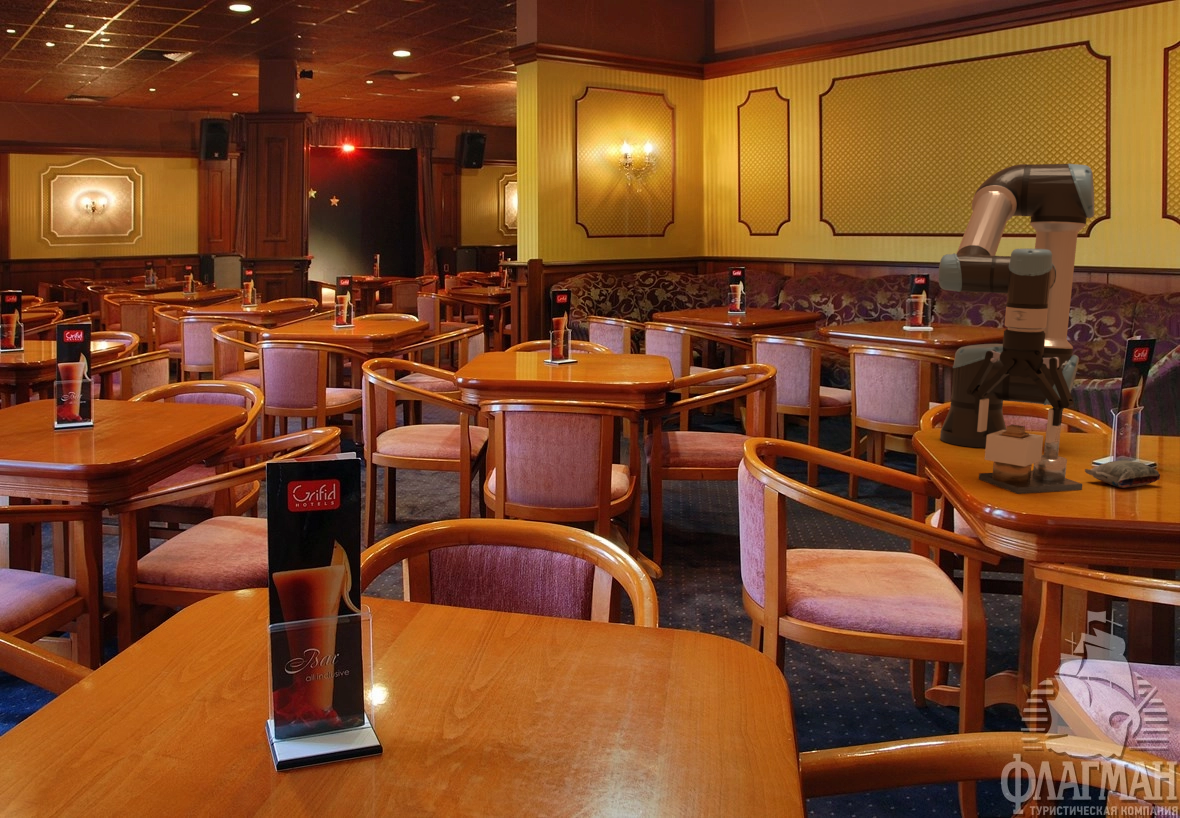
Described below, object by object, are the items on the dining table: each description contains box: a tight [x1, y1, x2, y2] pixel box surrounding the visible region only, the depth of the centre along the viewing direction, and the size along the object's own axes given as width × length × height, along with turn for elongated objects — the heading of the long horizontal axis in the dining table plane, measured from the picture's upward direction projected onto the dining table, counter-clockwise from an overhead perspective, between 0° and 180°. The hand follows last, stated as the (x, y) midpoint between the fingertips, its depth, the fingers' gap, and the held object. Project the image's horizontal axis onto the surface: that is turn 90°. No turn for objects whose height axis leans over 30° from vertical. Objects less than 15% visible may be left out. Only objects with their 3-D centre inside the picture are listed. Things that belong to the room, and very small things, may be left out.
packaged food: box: [1084, 460, 1161, 489], centre depth 218 cm, size 9×12×5 cm
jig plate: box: [978, 469, 1084, 495], centre depth 216 cm, size 15×12×1 cm
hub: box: [992, 424, 1033, 484], centre depth 214 cm, size 7×7×11 cm
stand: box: [1032, 424, 1068, 481], centre depth 216 cm, size 6×6×11 cm
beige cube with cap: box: [984, 430, 1044, 467], centre depth 214 cm, size 8×8×5 cm
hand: (1015, 436), depth 214 cm, fingers open, 13 cm apart
